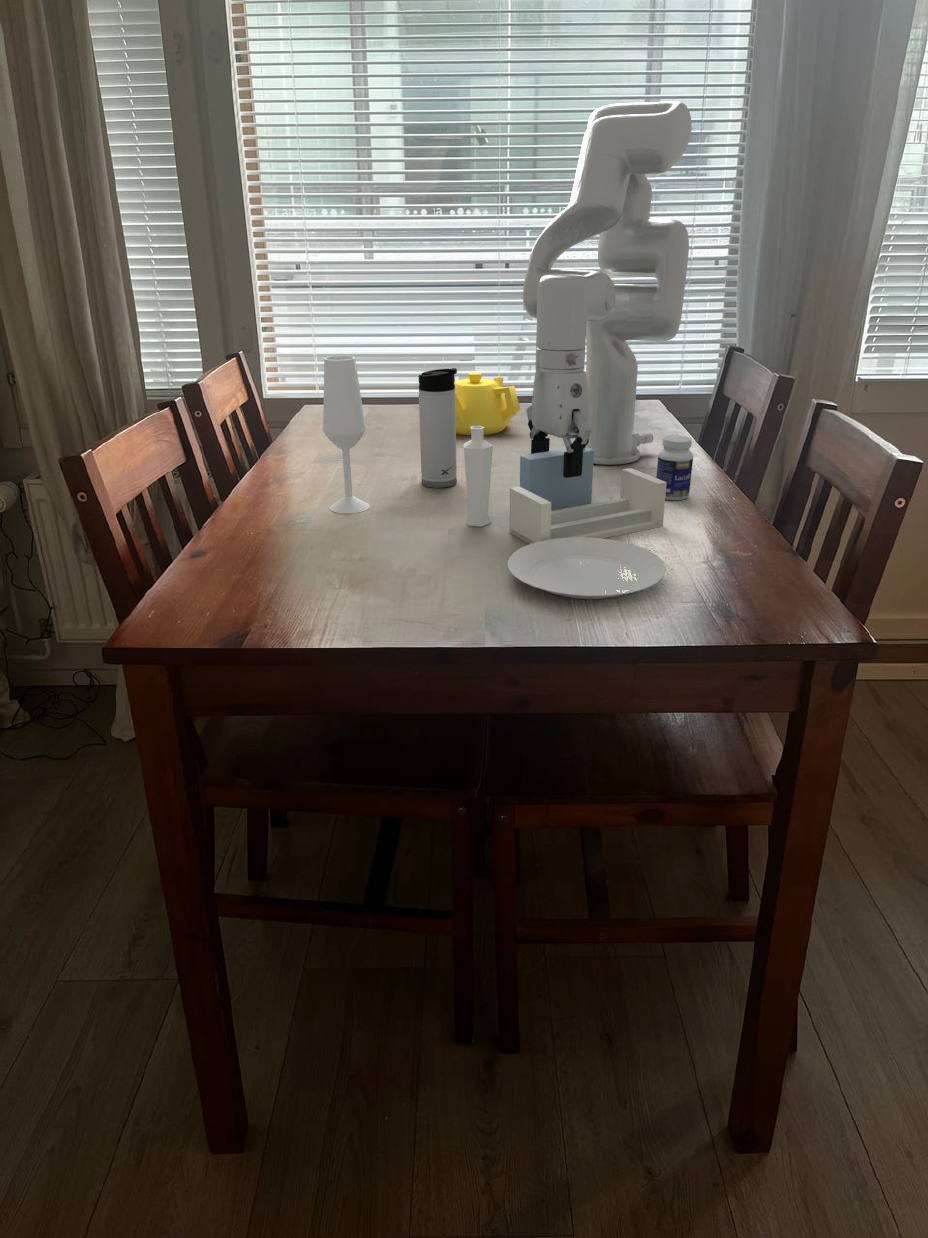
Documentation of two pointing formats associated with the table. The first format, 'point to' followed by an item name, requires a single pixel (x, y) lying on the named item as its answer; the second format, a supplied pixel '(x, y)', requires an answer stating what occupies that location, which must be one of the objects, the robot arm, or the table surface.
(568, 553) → the plate
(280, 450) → the table surface
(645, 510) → the track frame
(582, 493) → the door panel
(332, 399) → the champagne flute
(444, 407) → the travel mug
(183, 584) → the table surface
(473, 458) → the perfume bottle
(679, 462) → the pill bottle
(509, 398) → the teapot
